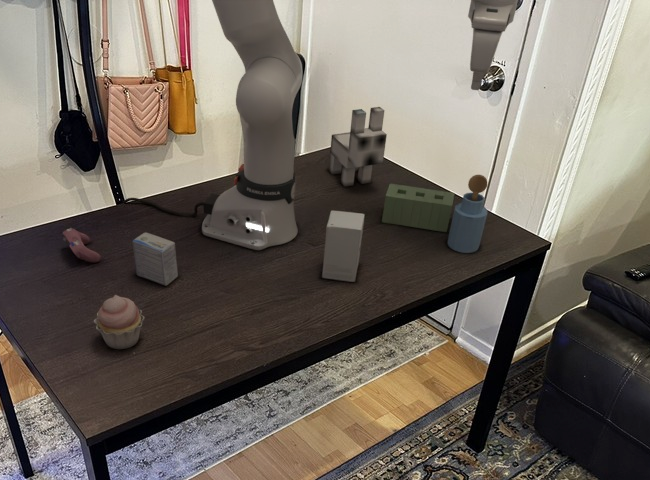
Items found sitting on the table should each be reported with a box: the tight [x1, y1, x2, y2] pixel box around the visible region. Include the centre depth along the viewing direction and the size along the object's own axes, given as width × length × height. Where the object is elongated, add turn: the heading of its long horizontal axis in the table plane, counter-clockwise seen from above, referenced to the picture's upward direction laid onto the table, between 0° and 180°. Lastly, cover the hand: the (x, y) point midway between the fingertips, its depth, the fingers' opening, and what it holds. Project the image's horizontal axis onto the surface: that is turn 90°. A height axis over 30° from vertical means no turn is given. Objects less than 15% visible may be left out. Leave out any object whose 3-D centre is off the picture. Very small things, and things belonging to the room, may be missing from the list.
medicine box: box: [132, 231, 179, 287], centre depth 147 cm, size 8×4×9 cm, turn 59°
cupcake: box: [93, 294, 145, 350], centre depth 130 cm, size 9×9×10 cm
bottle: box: [447, 192, 489, 254], centre depth 159 cm, size 7×7×12 cm
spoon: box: [467, 174, 488, 202], centre depth 158 cm, size 4×1×17 cm, turn 75°
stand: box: [381, 183, 455, 233], centre depth 169 cm, size 16×7×7 cm, turn 75°
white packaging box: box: [321, 209, 366, 283], centre depth 149 cm, size 7×7×13 cm
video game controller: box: [62, 227, 101, 263], centre depth 154 cm, size 10×5×7 cm, turn 27°
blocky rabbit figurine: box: [328, 106, 388, 187], centre depth 181 cm, size 8×18×20 cm, turn 22°
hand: (476, 81), depth 148 cm, fingers open, 8 cm apart
